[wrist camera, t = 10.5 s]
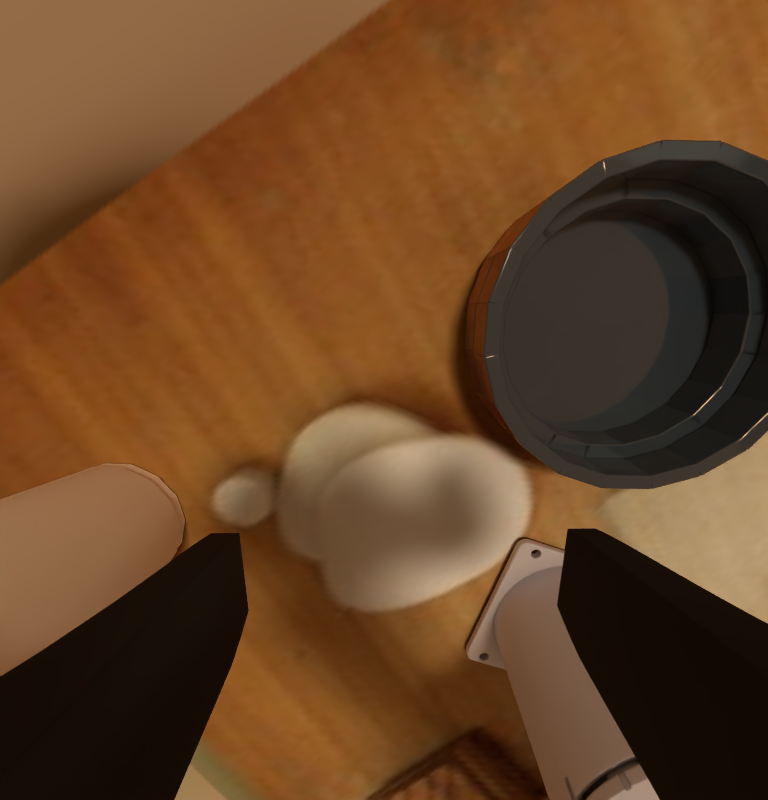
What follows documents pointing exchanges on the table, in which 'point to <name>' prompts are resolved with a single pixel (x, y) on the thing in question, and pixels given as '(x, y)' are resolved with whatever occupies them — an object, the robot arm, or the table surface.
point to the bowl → (632, 317)
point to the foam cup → (79, 551)
